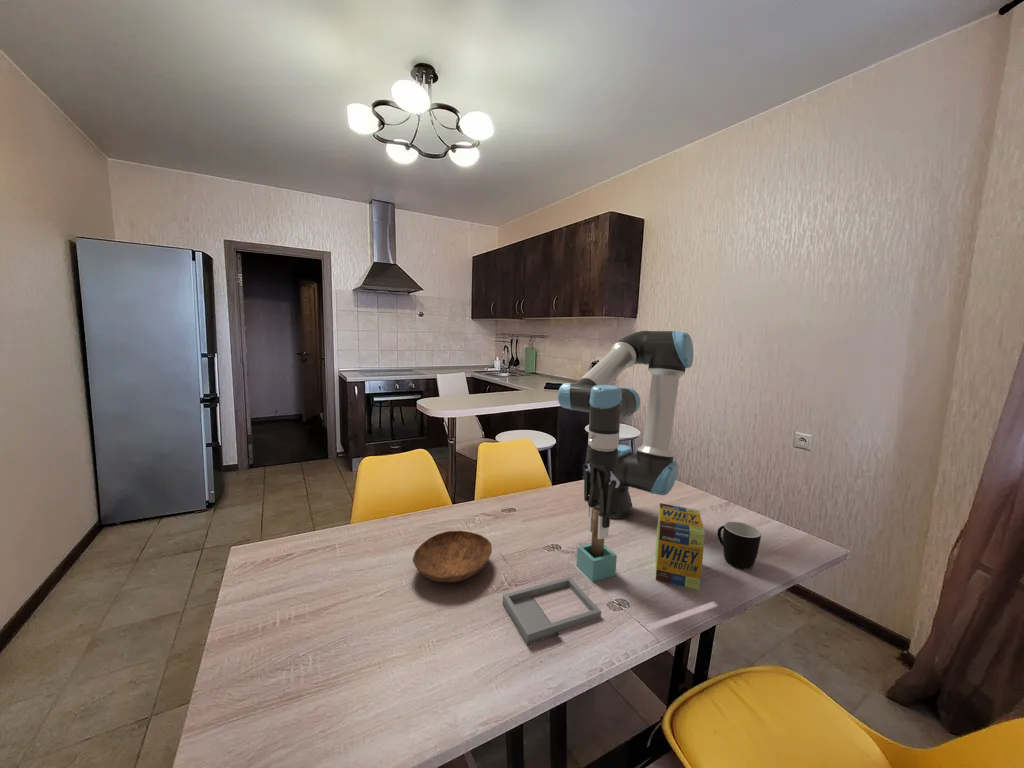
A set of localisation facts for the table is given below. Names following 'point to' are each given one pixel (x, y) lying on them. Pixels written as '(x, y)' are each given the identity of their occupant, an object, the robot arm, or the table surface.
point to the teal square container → (596, 563)
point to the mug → (739, 544)
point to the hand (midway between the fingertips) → (598, 533)
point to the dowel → (596, 536)
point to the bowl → (452, 556)
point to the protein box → (679, 546)
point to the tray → (534, 619)
